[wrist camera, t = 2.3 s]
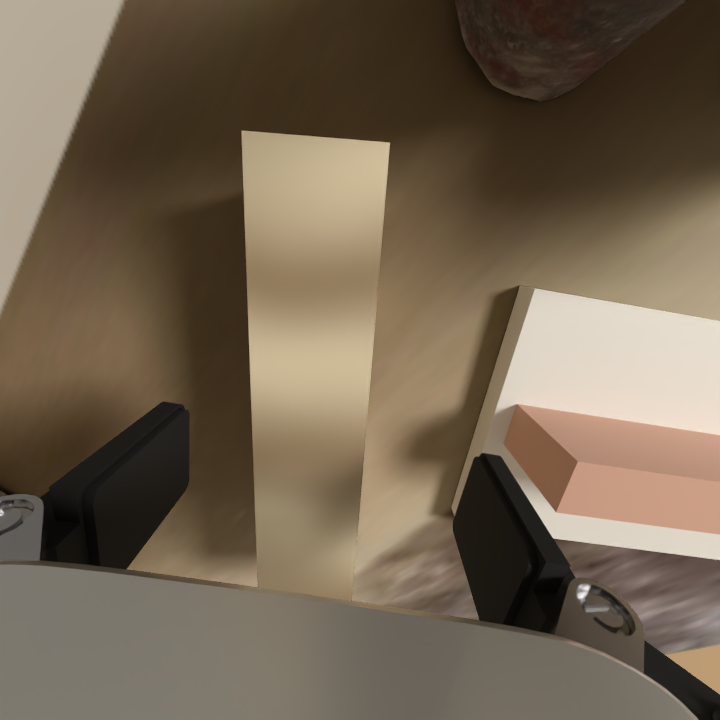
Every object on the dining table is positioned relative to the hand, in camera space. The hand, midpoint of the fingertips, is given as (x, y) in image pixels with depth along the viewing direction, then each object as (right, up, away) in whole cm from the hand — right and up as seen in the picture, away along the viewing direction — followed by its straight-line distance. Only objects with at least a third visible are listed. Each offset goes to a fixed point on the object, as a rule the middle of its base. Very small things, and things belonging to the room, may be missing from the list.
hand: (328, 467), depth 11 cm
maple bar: (-1, +2, +8) cm, 8 cm away
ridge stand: (+19, -1, +9) cm, 21 cm away
